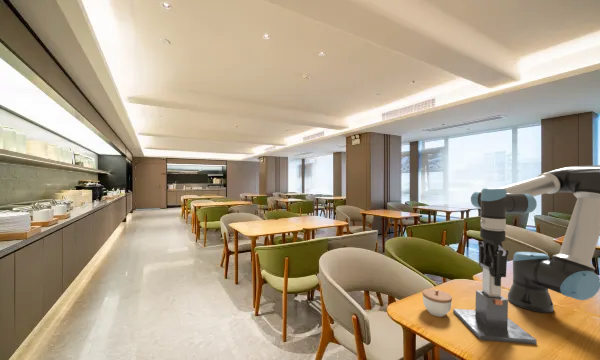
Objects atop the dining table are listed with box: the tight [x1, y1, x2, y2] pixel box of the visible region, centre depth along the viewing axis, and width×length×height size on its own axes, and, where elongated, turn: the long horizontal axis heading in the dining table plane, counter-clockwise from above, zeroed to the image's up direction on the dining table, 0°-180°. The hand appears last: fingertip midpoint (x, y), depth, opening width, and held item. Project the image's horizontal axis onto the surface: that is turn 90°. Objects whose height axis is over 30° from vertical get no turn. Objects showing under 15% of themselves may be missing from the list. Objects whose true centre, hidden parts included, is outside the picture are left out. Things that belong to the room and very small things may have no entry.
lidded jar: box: [421, 288, 453, 318], centre depth 104 cm, size 11×11×9 cm
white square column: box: [479, 263, 502, 298], centre depth 94 cm, size 5×5×21 cm
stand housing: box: [453, 289, 538, 345], centre depth 94 cm, size 18×18×12 cm
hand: (491, 290), depth 94 cm, fingers closed on white square column, 4 cm apart
